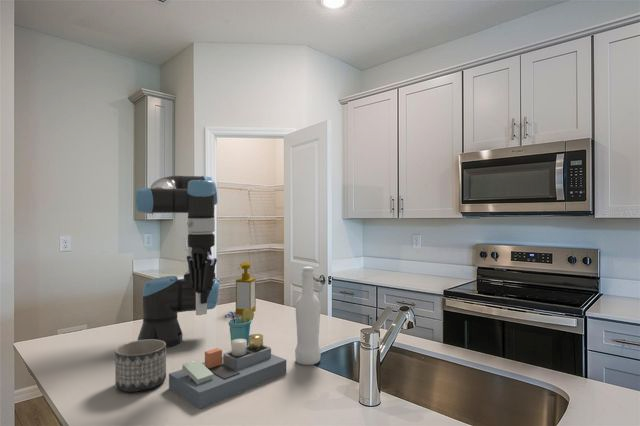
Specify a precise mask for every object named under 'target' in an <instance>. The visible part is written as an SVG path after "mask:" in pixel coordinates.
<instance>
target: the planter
mask: <svg viewBox="0 0 640 426" xmlns="http://www.w3.org/2000/svg"><path fill="white" fill-rule="evenodd" d="M114 354H115V355H114V357H115V360H114V361H115V363H114V365H115V368H114V369H115V373H114V374H115V377H114V378H115V383H114V384H115V388H116V389H118V390H119V391H124V392H139V391H145V390H149V389H152V388H155V387H157V386H159V385H161V384H162V383H164V382H165V380H166V378H167V347H166V343H165V342H164V341H162V340H156V339H146V340H138V339H137V340H133V341H129V342H126V343H124V344H121V345H119V346H118V347H117V348H116V349H115V353H114Z"/></svg>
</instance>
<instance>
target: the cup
mask: <svg viewBox="0 0 640 426" xmlns="http://www.w3.org/2000/svg"><path fill="white" fill-rule="evenodd" d="M254 315H255V314H254V312H253V310H252V309H249V308H246V309H245V310H244V311H243V312H242V314H241V316H240V317H236V316H235V313H234V312H233V311H229V312H228V313H227V314H225V315H224V318H228V317H230V316H231V317H232V318H231V319H230V320H229V321H228V322H227V323H228V326H229V333H230V334H229V335H230V336H229V337H230V346H231V348H232V340H235V339H246V340H247V346H249V336H250V332H251V331H250V330H251V324H252V321H253V319H254Z"/></svg>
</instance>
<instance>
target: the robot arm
mask: <svg viewBox="0 0 640 426" xmlns="http://www.w3.org/2000/svg"><path fill="white" fill-rule="evenodd" d="M217 204H218V191H217V185H216V181H215V179H214V178H213V177H212V176H204V175H201V176H199V175H198V176H197V175H195V176H193V175H192V176H191V175H170V176H166V177H162V178H158V179H157V180H155V181H154V182H153V183H151V185H150V187H145V188H144V187H143V188H138V189H137V190H136V192H135V209H136V211H137V212H138V213H142V214H187V222H186V225H187V255H186V260H187V271H186V272H185V273H184V274H183V279H179V278H178V276H176V275H168V276H160V277H157V278H156V277H155V278H153V279H150V280H148V281H145V283H144V284H143V286H142V287H143V289H142V296H141V297H142V325H141V327H140V330H139V333H138V337H137V341H138V340H146V339H156V340H162V341H164V342H165V343H166V348H169V347H174V346H175V345H178V344H180V343H181V342H182V341H183V331H182V328H181V325H180V322H179V320H178V313H179V312H180V313H181V312H195V315H196V316H199V317H200V316H202V315H207V314H208V310H213V309H215V308H216V307H217V304H218V298H219V292H220V291H219V289H220V281H221V280H220V278H219V277H216V272H215V269H216V268H215V267H216V264H217V261H218V259H217V258H214V257H213V256H212V247H215V243H216V242H215V241H216V240H215V237H216V236H215V234H214V232H215V231H216V226H215V225H216V222H215V221H216V220H215V205H217Z"/></svg>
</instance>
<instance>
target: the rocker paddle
mask: <svg viewBox="0 0 640 426" xmlns="http://www.w3.org/2000/svg"><path fill="white" fill-rule="evenodd" d="M202 363H203V362H201V361H200V360H199V359H196V360H193V361H189V362H186V363H183V364H182V369H183V370H184V371H185V372H186V373H187V374H188V375H189V376H190V377H191V378H192V379H193V380H194V381H195V382H196V383H197V384H200V383H203V382H206V381H209V380H211V379H213V375H214V374H213V373H212V372H211V371H210V370H209V369H208V368H207V367H205V366H204V365H203V364H202ZM182 369H181V370H182Z"/></svg>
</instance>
